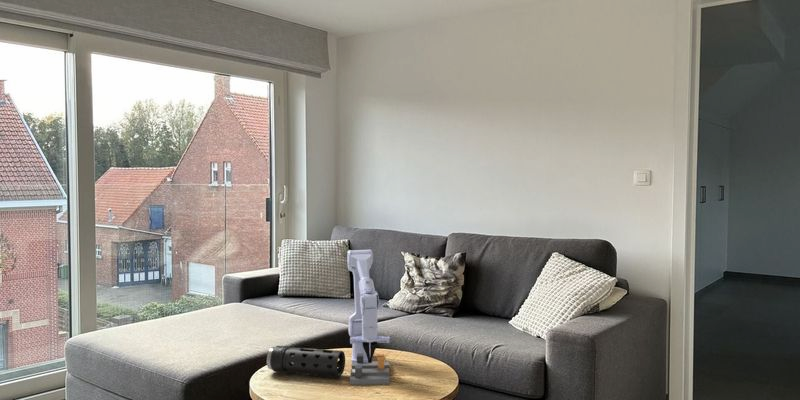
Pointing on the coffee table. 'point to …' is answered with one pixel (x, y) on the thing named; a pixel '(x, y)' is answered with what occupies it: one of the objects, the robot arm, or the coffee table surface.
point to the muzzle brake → (306, 361)
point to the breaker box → (368, 372)
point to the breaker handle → (380, 360)
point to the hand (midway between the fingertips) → (370, 362)
